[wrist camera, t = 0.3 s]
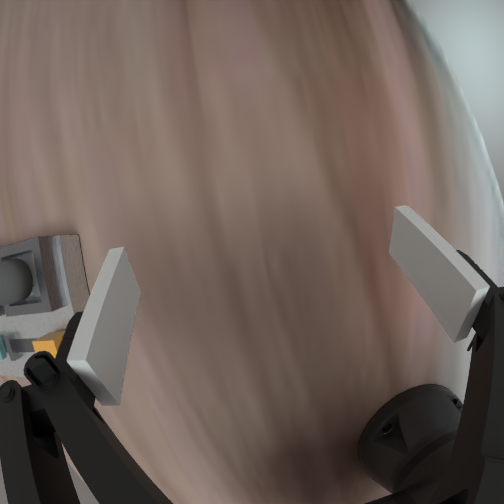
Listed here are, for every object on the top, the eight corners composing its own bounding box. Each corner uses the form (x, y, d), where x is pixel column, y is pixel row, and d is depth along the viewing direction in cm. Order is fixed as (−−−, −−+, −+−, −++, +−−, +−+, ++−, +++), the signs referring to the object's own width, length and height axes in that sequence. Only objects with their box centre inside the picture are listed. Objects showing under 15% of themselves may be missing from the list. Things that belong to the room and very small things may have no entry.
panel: (107, 364, 32) (79, 390, 25) (12, 365, 32) (-18, 382, 25) (78, 234, 31) (41, 235, 24) (-13, 259, 31) (-48, 263, 24)
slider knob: (79, 357, 28) (62, 370, 24) (58, 358, 28) (41, 370, 24) (71, 330, 27) (53, 340, 24) (50, 331, 27) (31, 341, 24)
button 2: (36, 297, 24) (17, 303, 21) (10, 301, 25) (-8, 307, 22) (28, 255, 24) (9, 257, 21) (3, 262, 24) (-16, 264, 21)
